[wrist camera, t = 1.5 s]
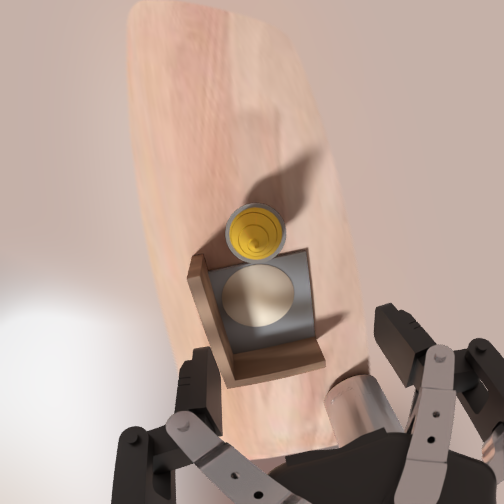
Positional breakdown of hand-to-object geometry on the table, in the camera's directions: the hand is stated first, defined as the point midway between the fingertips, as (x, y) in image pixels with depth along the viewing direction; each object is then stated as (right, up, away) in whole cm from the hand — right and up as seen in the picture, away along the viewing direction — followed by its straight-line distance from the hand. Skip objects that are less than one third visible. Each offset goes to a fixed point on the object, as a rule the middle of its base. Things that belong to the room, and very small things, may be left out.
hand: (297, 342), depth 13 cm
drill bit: (-2, +7, +16) cm, 18 cm away
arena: (-1, -2, +20) cm, 20 cm away
